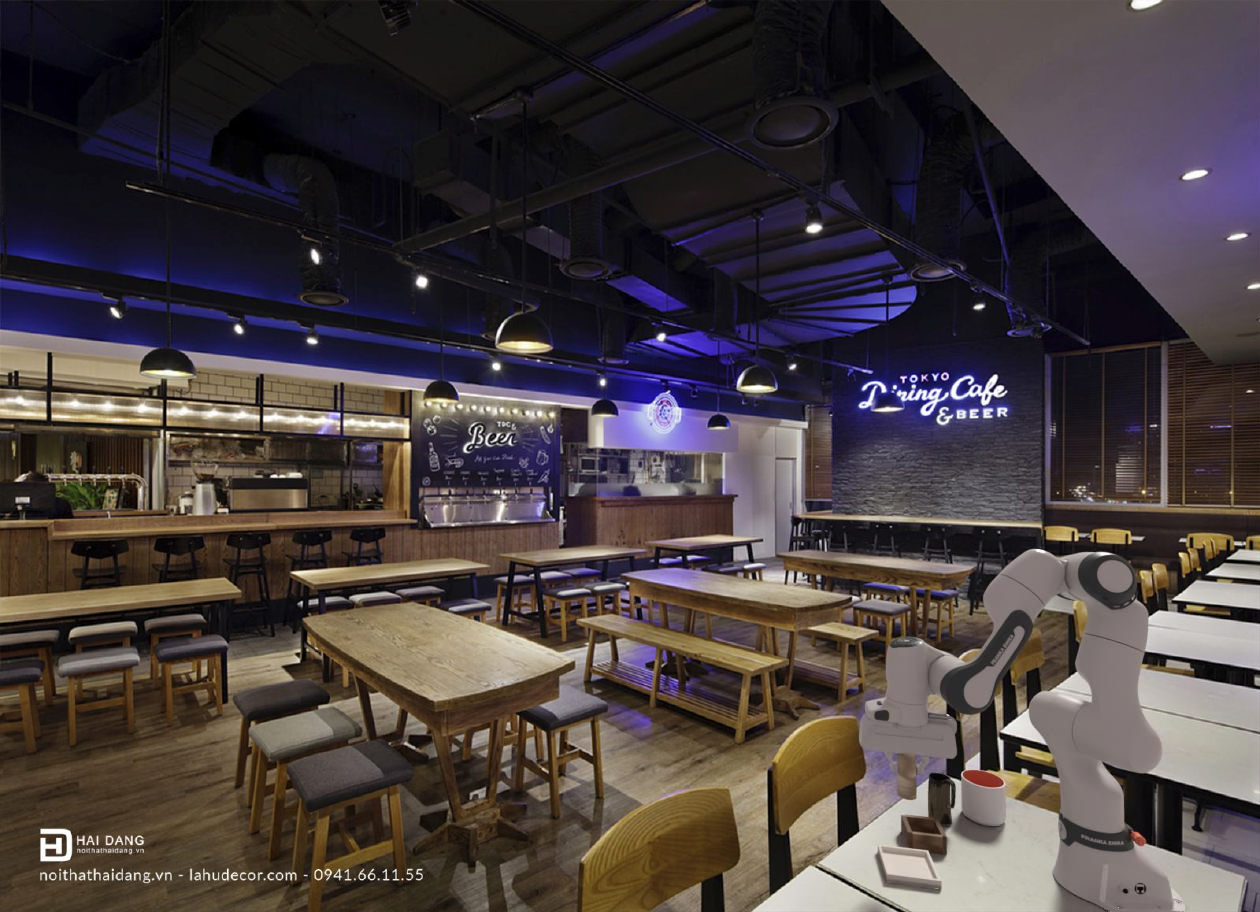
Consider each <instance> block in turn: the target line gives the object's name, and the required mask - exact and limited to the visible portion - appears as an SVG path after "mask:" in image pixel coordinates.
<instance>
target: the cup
mask: <svg viewBox="0 0 1260 912" xmlns="http://www.w3.org/2000/svg"><path fill="white" fill-rule="evenodd" d="M960 773H961V774H960V777H961V778H960V779H961V781H960V785H961V786H960V787H961V788H960V790H961V792H960V794H961V803H960V805H961V810H962V813H963V814H964V815H965V816H966V817H967V818H968V819H969V820H971V821H972V822H974V823H977V824H980V825H981V826H982V825H983V826H987V827H998V826H1002V825H1003V824H1004V823H1005V822H1006V819H1007V809H1006V807H1007V804H1006V800H1007V797H1006V791H1007V790H1006V781H1005V780H1004V779H1003V778H1002V777H1000V776H998V775H997V774H995V773H993V772H989V771H986V770H980V769H965V770H963V771H962V772H960Z"/></svg>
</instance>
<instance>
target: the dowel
mask: <svg viewBox="0 0 1260 912" xmlns="http://www.w3.org/2000/svg"><path fill="white" fill-rule="evenodd" d="M896 754H897V755H896V762H897V764H898V772H896V776H897V777H896V778H897V779H896V780H897V781H896V783H897V784H896V788H897V789H896V795H897V796H898V797H899V798H901V799H902V800H903V799H904V800H908V801H915V800H917V796H918V795H917V784H918V783H917V782H918V781H917V776H918V775H917V769H916V764H917V755H914V754H905V753H903V754H900V753H896Z"/></svg>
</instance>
